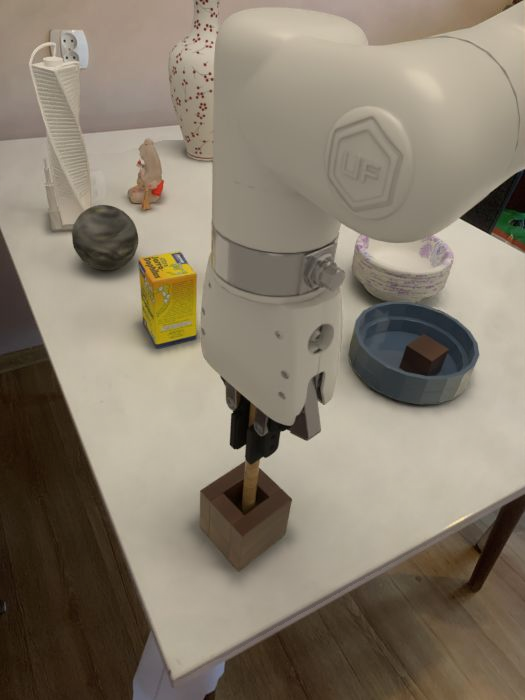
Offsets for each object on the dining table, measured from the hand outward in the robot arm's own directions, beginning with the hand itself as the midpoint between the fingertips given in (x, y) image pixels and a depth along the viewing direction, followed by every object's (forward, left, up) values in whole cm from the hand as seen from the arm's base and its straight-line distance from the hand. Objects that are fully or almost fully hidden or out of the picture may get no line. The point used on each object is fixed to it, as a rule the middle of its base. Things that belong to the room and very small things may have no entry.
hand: (254, 446), depth 44 cm
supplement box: (+30, -12, -13) cm, 35 cm away
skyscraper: (+67, -17, -13) cm, 71 cm away
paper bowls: (+18, -48, -13) cm, 53 cm away
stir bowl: (+5, -34, -13) cm, 37 cm away
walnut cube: (+3, -34, -13) cm, 36 cm away
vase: (+81, -57, -13) cm, 100 cm away
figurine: (+67, -32, -13) cm, 76 cm away
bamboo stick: (0, 0, -13) cm, 13 cm away
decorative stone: (+50, -14, -13) cm, 54 cm away
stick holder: (0, 0, -13) cm, 13 cm away
